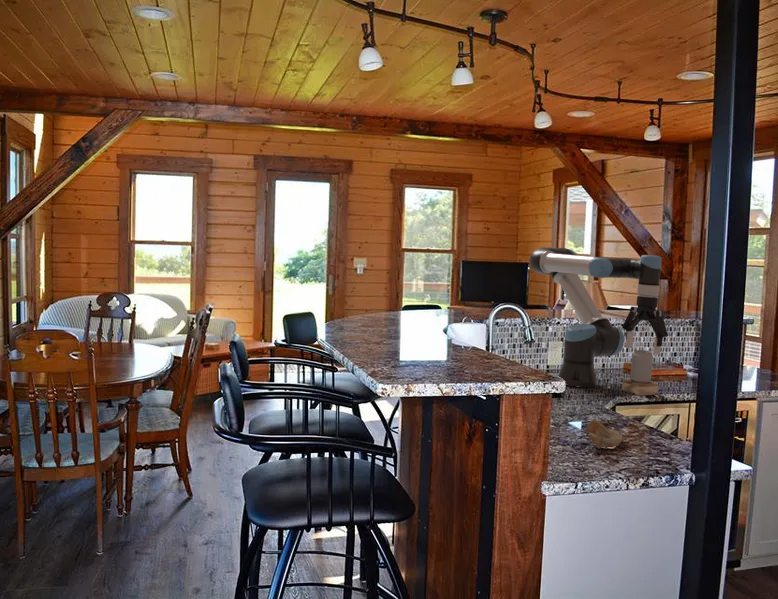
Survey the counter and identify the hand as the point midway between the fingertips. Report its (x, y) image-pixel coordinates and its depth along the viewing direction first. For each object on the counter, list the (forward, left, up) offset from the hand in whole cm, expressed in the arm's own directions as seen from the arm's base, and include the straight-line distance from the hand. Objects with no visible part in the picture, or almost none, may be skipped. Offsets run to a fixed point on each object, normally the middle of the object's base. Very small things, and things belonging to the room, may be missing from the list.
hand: (642, 351), depth 269 cm
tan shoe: (+50, -65, -16) cm, 84 cm away
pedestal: (0, 0, -16) cm, 16 cm away
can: (0, 0, -12) cm, 12 cm away
